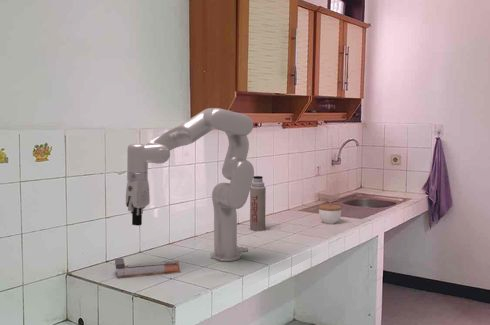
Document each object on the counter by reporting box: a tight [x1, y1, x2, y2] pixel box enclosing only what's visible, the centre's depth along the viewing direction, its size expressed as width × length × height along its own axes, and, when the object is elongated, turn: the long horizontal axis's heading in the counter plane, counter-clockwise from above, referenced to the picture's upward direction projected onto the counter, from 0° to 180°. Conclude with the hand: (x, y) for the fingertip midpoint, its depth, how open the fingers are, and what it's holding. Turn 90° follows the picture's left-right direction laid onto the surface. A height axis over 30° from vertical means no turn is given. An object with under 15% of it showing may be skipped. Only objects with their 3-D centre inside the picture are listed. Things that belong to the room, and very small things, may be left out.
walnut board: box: [115, 264, 182, 279], centre depth 190 cm, size 23×15×1 cm, turn 108°
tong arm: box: [127, 260, 180, 269], centre depth 189 cm, size 19×3×2 cm, turn 107°
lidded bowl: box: [318, 202, 343, 225], centre depth 278 cm, size 13×13×11 cm
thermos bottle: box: [249, 175, 267, 232], centre depth 260 cm, size 8×8×28 cm
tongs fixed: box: [116, 264, 178, 278], centre depth 187 cm, size 22×7×3 cm, turn 108°
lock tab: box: [114, 258, 126, 270], centre depth 184 cm, size 3×7×2 cm, turn 18°
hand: (136, 224), depth 189 cm, fingers closed
